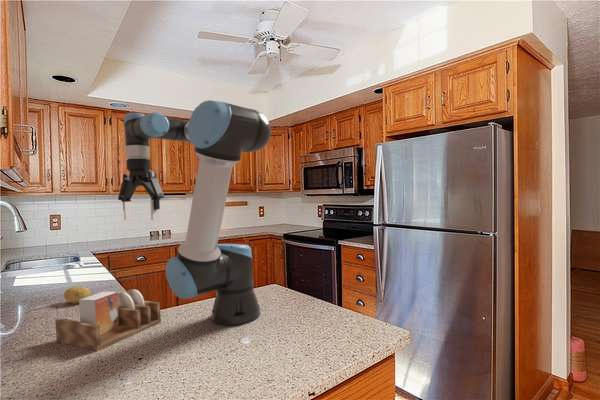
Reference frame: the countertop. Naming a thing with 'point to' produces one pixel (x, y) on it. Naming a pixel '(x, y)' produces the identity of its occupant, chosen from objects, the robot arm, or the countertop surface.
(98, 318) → the small box
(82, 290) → the potato
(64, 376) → the countertop surface
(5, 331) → the countertop surface
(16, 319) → the countertop surface
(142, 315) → the rack
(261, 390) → the countertop surface
